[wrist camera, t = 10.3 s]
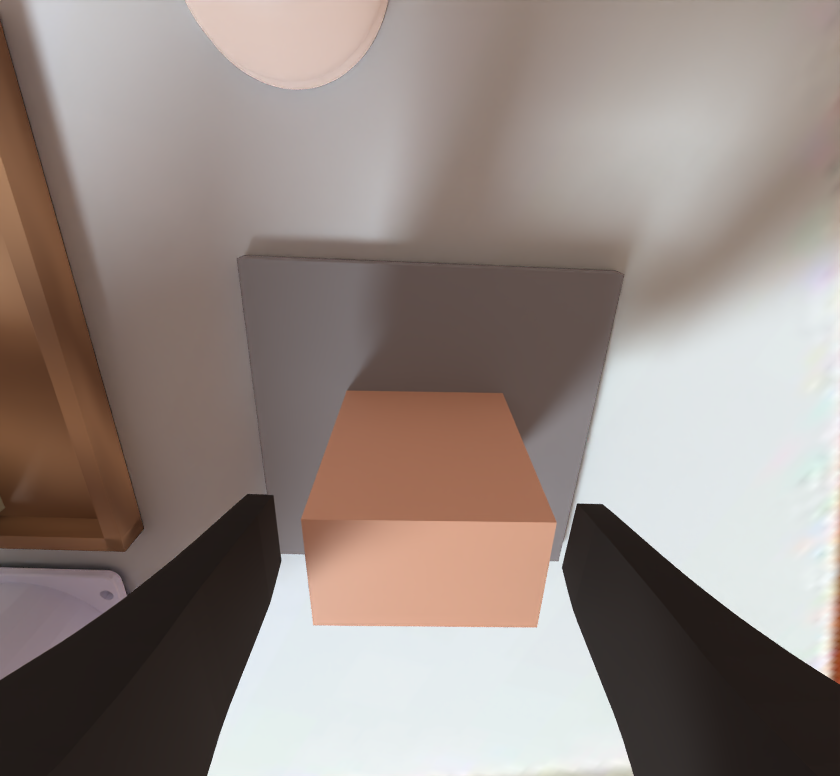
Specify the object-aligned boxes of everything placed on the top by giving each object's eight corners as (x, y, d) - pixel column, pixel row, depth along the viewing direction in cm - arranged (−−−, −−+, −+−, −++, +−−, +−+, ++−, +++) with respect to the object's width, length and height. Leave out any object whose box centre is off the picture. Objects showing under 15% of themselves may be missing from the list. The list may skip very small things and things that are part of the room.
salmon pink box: (494, 470, 15) (536, 627, 10) (351, 468, 15) (313, 625, 10) (502, 392, 14) (556, 522, 9) (346, 390, 14) (300, 519, 8)
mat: (554, 549, 18) (558, 561, 17) (279, 541, 17) (274, 553, 17) (615, 270, 13) (624, 274, 12) (244, 255, 13) (237, 258, 12)
